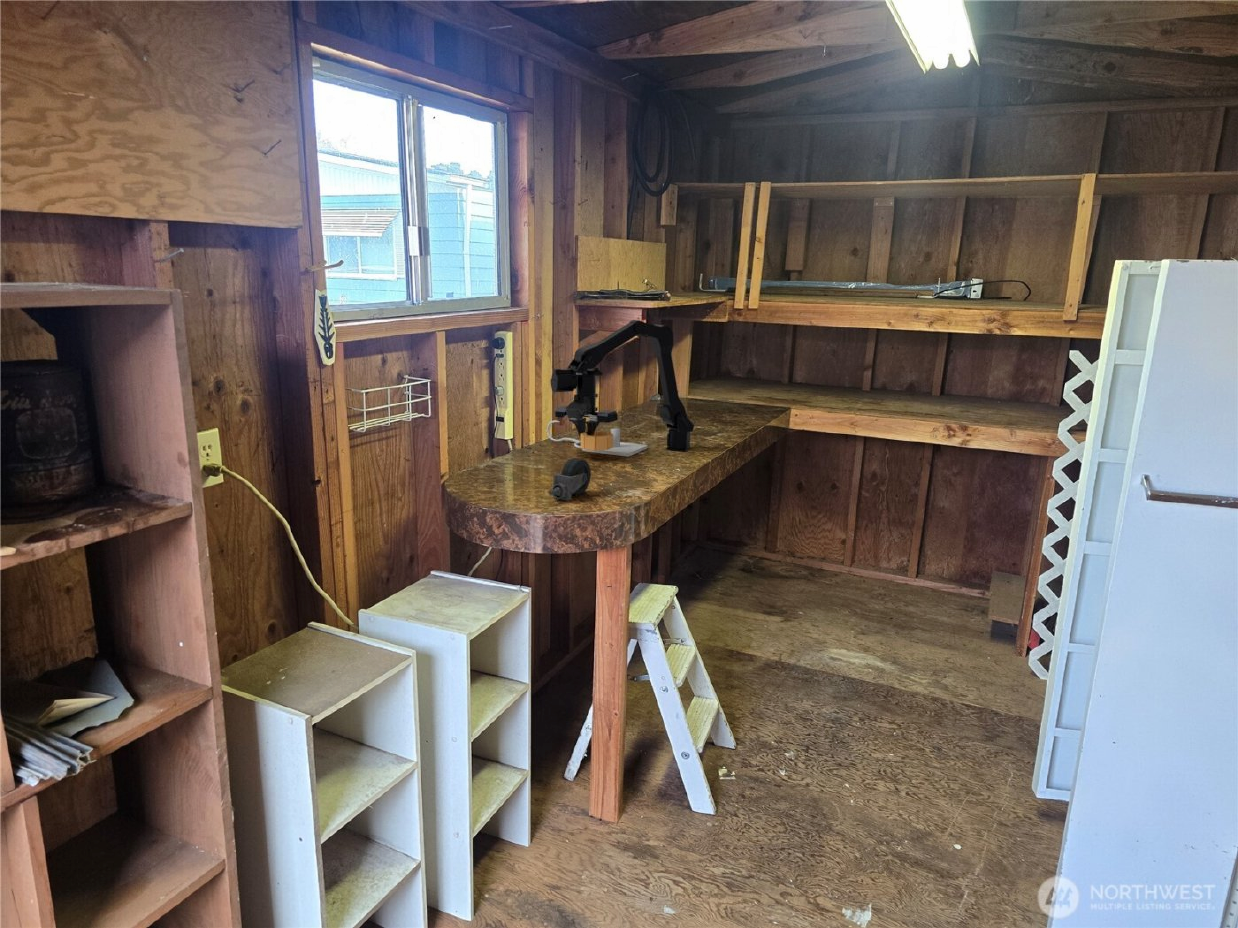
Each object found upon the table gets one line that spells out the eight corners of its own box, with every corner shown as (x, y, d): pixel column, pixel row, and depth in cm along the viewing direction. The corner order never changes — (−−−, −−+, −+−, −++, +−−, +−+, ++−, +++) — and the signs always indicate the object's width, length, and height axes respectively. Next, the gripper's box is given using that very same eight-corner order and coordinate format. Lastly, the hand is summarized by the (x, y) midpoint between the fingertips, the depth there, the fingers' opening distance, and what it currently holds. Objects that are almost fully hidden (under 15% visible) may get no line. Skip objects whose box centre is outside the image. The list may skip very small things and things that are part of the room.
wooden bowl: (617, 445, 233) (617, 432, 232) (603, 451, 225) (603, 438, 224) (590, 442, 237) (590, 430, 236) (575, 448, 228) (575, 435, 228)
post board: (647, 448, 247) (647, 428, 245) (628, 456, 234) (628, 435, 233) (603, 442, 254) (603, 423, 252) (582, 450, 241) (582, 430, 240)
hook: (554, 436, 263) (601, 453, 252) (536, 440, 255) (583, 458, 245) (557, 415, 260) (604, 431, 250) (539, 419, 253) (586, 436, 243)
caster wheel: (576, 492, 198) (540, 500, 185) (578, 455, 196) (542, 460, 183) (594, 496, 195) (559, 504, 182) (596, 458, 193) (561, 463, 181)
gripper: (544, 391, 225) (545, 443, 229) (601, 396, 217) (600, 450, 221) (564, 387, 235) (564, 437, 239) (618, 392, 227) (618, 444, 231)
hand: (585, 442), depth 232 cm, fingers closed on wooden bowl, 2 cm apart
